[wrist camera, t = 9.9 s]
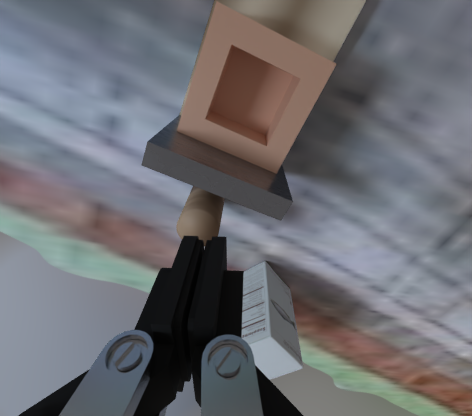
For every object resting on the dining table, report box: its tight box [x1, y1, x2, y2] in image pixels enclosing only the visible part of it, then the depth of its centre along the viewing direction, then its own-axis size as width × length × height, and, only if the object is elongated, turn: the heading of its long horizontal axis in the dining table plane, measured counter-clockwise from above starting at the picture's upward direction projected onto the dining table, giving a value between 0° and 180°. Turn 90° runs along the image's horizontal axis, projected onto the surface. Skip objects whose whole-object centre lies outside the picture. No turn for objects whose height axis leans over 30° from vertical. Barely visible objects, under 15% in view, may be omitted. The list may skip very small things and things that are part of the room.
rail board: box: [180, 0, 366, 115], centre depth 24 cm, size 12×28×2 cm, turn 157°
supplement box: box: [242, 261, 303, 380], centre depth 36 cm, size 7×7×13 cm
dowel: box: [177, 186, 225, 246], centre depth 29 cm, size 4×4×10 cm
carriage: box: [177, 1, 336, 174], centre depth 24 cm, size 10×10×5 cm
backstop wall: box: [142, 115, 293, 220], centre depth 26 cm, size 12×2×12 cm, turn 67°
